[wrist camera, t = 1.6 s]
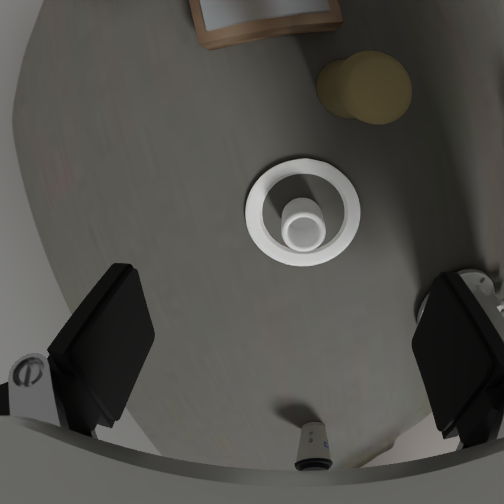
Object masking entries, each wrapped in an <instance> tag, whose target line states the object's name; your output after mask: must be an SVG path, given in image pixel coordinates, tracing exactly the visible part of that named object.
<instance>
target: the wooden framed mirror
mask: <svg viewBox="0 0 504 504" xmlns="http://www.w3.org/2000/svg"><path fill="white" fill-rule="evenodd" d="M189 3H190V7H191V12H192V16H193V21H194V25H195V30H196V34H197V39H198V43H199V45H200V46H202V47H204V48H206V49H208V50H214V49H218V48H222V47H226V46H231V45H235V44H240V43H245V42H250V41H255V40H261V39H266V38H273V37H279V36H286V35H294V34H302V33H312V32H323V31H336V30H337V29H338V28H339V26H340V25H341V24H342V23H343V17H342V13H341V10H340V6H339V2H338V0H189Z"/></svg>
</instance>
